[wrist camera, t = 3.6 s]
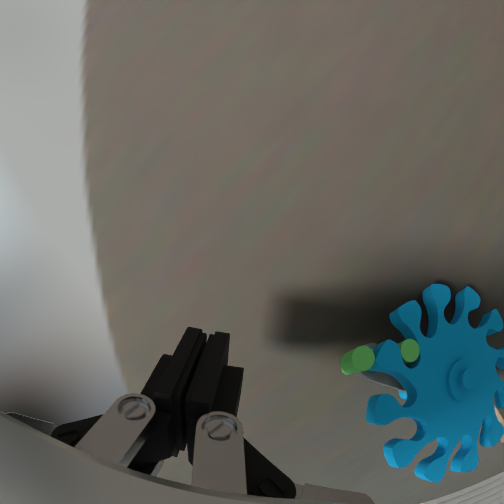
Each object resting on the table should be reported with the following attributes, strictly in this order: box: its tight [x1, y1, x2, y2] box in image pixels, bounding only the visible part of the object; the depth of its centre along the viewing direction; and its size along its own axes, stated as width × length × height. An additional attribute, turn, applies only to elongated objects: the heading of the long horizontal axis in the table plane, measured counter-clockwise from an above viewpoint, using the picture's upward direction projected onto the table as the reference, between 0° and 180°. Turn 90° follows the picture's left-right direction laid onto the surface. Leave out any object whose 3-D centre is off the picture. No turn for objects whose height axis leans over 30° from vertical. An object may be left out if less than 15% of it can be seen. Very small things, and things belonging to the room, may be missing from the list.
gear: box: [340, 284, 504, 483], centre depth 13 cm, size 11×6×10 cm
